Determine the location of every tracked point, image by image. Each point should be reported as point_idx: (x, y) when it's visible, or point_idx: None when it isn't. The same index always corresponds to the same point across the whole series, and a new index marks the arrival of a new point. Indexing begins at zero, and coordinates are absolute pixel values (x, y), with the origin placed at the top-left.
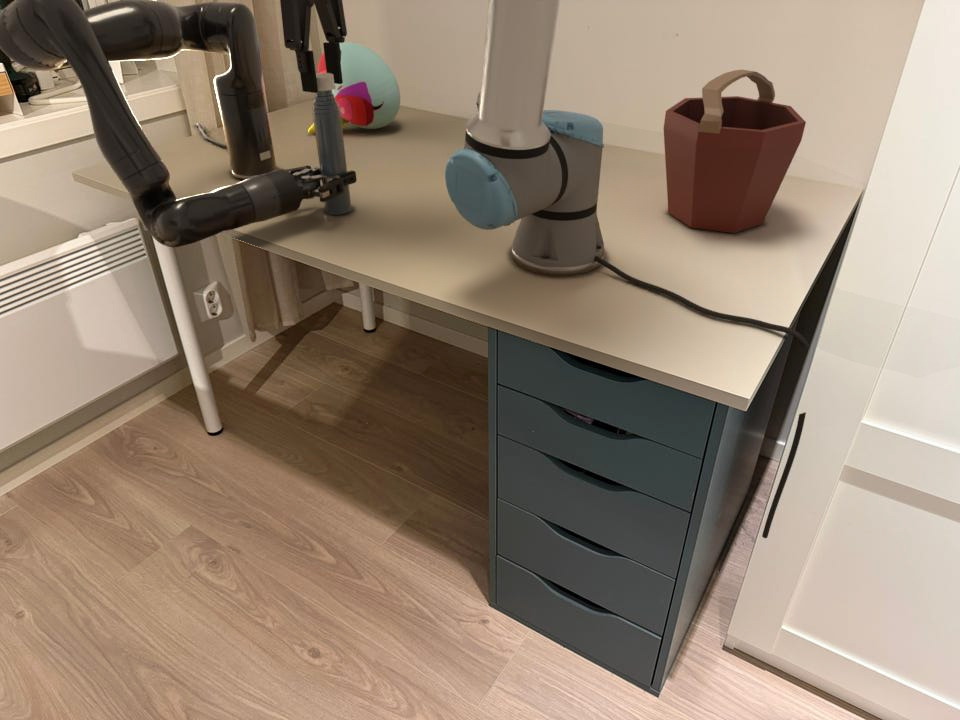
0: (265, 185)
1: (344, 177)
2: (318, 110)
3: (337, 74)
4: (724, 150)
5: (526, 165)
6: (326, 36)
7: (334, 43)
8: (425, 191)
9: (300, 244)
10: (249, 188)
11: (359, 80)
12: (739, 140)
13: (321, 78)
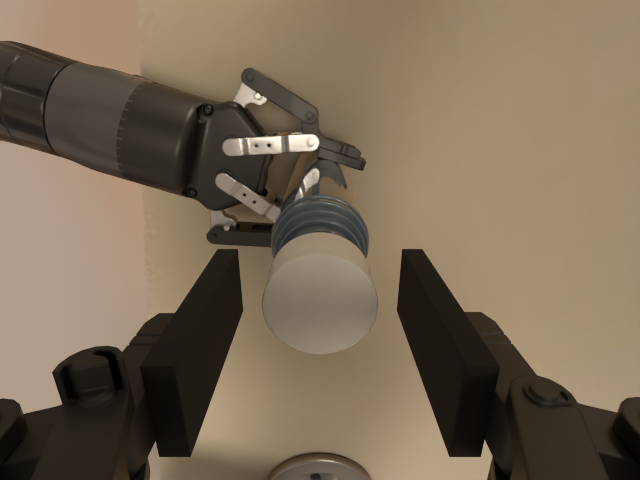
0: (98, 163)
1: None
2: (272, 251)
3: (406, 324)
4: None
5: None
6: (510, 420)
7: (474, 436)
8: (469, 264)
9: (164, 204)
10: (57, 145)
11: None
12: None
13: (275, 334)
